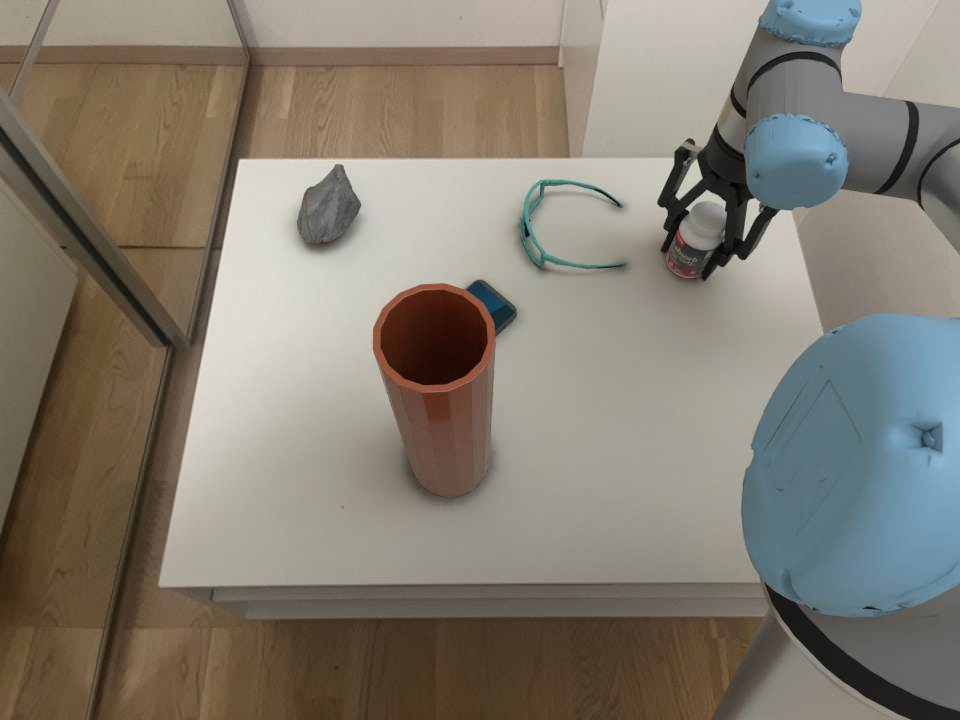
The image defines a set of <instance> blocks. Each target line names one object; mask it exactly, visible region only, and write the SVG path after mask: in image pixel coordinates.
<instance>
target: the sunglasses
mask: <svg viewBox="0 0 960 720" xmlns="http://www.w3.org/2000/svg"><path fill="white" fill-rule="evenodd" d="M564 185H567V186H568V185H571V186H576V187H579V188H583V189H587V190H592V191H594V192H596V193H599V194H601V195H603V196H604V197H606V198H608V199H609V200H610V201H612V202H613V203H614V204H615V205H617V206H618V207H619V208H620V207H624V204H623V203H621V201H619V200H618V199H617V198H615V197H614V196H613V195H612V194H610V193H609V192H607V191H606V190H605V189H604V190H603V189H602V188H600V187H597V186H596V185H592V184H589V183H584V182H580V181H573V180H567V179H540V180H539V181H537V182H536V183H535V184H533V185H532V186H531V187H530V189H529V190H528V192H527V194H526V197H525V199H524V203H523V215H522V217H520V218H519V232H520V235H521V240H522V243H523V246H524V248H525V250H526V252H527V254H528V256H529V257H530V258H531V259H532V261H533V262H534V263H535V264H536V265H537V266H539V267H541V268H542V267H544V266H545V262H548V263H551V264H554V265H556V266H566V267H573V268H578V269H584V270H601V269H612V268H613V269H614V268H619V267H625V265H627V264H628V262H620V263H611V264H583V263H581V264H580V263H574V262H571V261H568V260H564V259H560V258H558V257H556V256H553V255H550V254H548V253H546V250H544V248H542V246H541V245H540V243H539V242H538V241H537V239H536V235H535V233H534V231H533V229H532V225H531V219H530V216H531V214H532V213H533V211H534V209H536V207H537V206H538V204H539V203H540V202H541V201H542V200H543V199H544V195H545V188H546V187H557V186H564ZM538 187H539V192H538V193H539V194H538V197H537V198H536V200H535V201H534V202H533V203H532V204H531V206H530V199H531V196H532V195H533V192H534V191H535V190H536V189H537V188H538ZM529 206H530V207H529ZM529 237H530V240H531V242H532V244H534V246H535V247H536V249H537V250H538V251H539V254H540V256H539V260H538V259H537V258H536V257H535V255H533V253H532V251H531V250H530V247H529V245H528V241H527V238H529Z"/></svg>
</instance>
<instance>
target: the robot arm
mask: <svg viewBox="0 0 960 720" xmlns="http://www.w3.org/2000/svg"><path fill="white" fill-rule="evenodd" d="M862 13H863V6H862V1H861V0H769V1H768V3H767V4H766V7H765V8H764V10H763V12H762V14H761V15H759V17H758V19H757V22H758V24H757V27H756V29H755V31H754V34H753V36H752V38H751V40H750V43H749V45H748V48H747V50H746V52H745V55H744V57H743V60H742V61H741V64H740V67H739V70H738V72H737V73H736V76H735V79H734V82H733V84H732V85H731V88H730V90H729V93H728V94H727V96H726V99H725V101H724V103H723V106H722V108H721V110H720V113H719V115H718V117H717V120H716V122H715V124H714V126H713V129H712V131H711V134H710V136H709V139H708V141H707V143H706V145H704V147H701V146H698V145H696V141H695V140H694V138H692V137H688V138H687V139H685V141H683V142H682V143H681V144H680V145H679V146H678V147H677V148H676V149H675V150H674V152H673V153H674V154H673V155H674V156H673V161H674V162H673V166H672V168H671V171H670V173H669V175H668V177H667V180H666V181H665V183H664V186H663V188H662V190H661V192H660V194H659V197H658V198H657V201H656V204H657V206H658V207H659V208H662V209H665V210H666V211H667V216H666V218H665V220H664V222H663V225H662V227H663V230H664V231H666V232H667V234H666V237H665V238H664V241H663V244H662V246H661V248H660V250H659V251H660V252H661V253H662V254H663V255H666V254H667V251H668V249H669V247H670V245H671V243H672V240H673V238H674V236H675V234H676V232H677V230H678V227H679V225H680V223H681V221H682V220H683V219H684V217H685V216H687V215H688V214H689V213H690V212H691V210H688V209H687V208H688V207H689V206H690V205H691V204H693V202H695V201H696V200H697V199H698V198H699V197H700V196H702V195H703V194H704V193H705V192H706V191H708V192H709V193H712V194H713V195H716V196H718V197H719V198H720V199H721V200H722V201H724V202H725V206H724V209H725V212H727V216H726V225H725V235H724V240H723V242H722V243H721V244H720V245H719V247H718V248H717V249H716V250H715V252H714V254H713V256H712V257H711V259H710V261H709V263H708V265H707V266H706V268H705V270H704V272H703V274H702V275H700V277H699V279H700V280H702V281H704V282H706V280H707V279H708V278H709V277H710V276H711V275H712V274H713V272H715V271H716V269H717V268H718V267H719V268H721V269H723V268H725V267H726V266H727V265H728V264H729V263H730V262H731V260H732V258H733V257H734V255H735V256H737V258H738V259H739V260H741V261H746V260H747V259H748V258H749V257H750V255H751V254H752V253H753V252H754V251H755V250H756V249H757V247H758V246H759V244H760V242H761V240H762V238H763V236H764V235H765V233H766V231H767V230H768V227H769V225H770V223H771V222H772V220H773V218H774V217H776V216H777V215H778V213H779V212H780V211H794V209H795V208H805V209H810V208H814V207H817V206H820V205H821V204H823V203H825V202H827V201H829V200H830V199H832V198H833V197H834V196H835V195H837V193H838V192H839V191H840V190H843V191H850V192H857V193H864V194H870V195H877V196H884V197H889V198H897V199H903V200H909V201H912V202H915V203H916V204H917V205H918V206H919V208H920V209H921V210H922V212H924V213H925V214H926V216H927V217H928V218H929V220H930V221H931V222H932V223H933V225H934V226H935V227H936V228H937V229H938V230H939V232H940V233H941V234H942V235H943V237H944V238H945V239H946V241H947V242H948V244H949V245H950V246H952V248H953V249H954V250H955V251H956V253H957V254H958V255H959V256H960V107H955V106H950V105H949V106H948V105H943V104H942V105H941V104H933V103H926V102H919V101H912V100H911V101H910V100H906V99H905V100H904V99H899V98H898V99H897V98H891V97H885V96H877V95H870V94H863V93H856V92H850V91H844V88H843V74H842V55H843V53H844V50H845V48H846V46H847V45H848V44H850V43H851V41H852V40H853V38H854V33H855V30H856V29H857V26H858V24H859V22H860V20H861V17H862ZM695 161H697V164H698V168H699V171H700V176H701V179H700V180H699V181H697V183H695V185H694V186H692V187H691V189H689V190H688V191H687V192H686V193H684V194H683V196H681V197H680V198H678V197H677V194H678V192H679V190H680V188H681V186H682V184H683V182H684V180H685V178H686V176H687V174H688V172H689V170H690V168H691V166H692V165H693V163H694V162H695ZM750 200H757V201H758V202H759V204H758V207H759V208H758V212H759V213H758V214H757V215H756V217H755V219H754V221H753V222H752V225H751V226H750V228H749V231H748V232H747V234H746V236H745V238H744V233H745V227H746V219H747V212H748V210H747V209H748V205H749V204H748V203H749V201H750ZM752 437H753V438H752V440H751V444H750V449H751V450H752V451H753V456H752V459H751V461H750V463H749V465H748V466H747V467H746V468H745V471H744V476H743V480H742V489H741V502H740V504H741V505H740V516H741V526H742V527H741V529H742V536H743V540H744V545H745V549H746V552H747V555H748V558H749V560H750V563H751V564H752V567H753V568H754V570H755V572H756V573H757V574H758V576H759V582H760V585H761V588H762V592H763V596H764V597H765V599H766V602H767V605H768V609H767V611H766V612H765V614H764V616H763V618H762V620H761V621H760V624H759V625H758V628H757V629H756V632H755V634H754V635H753V637H752V639H751V640H750V643H749V644H748V647H747V648H746V650H745V653H744V654H743V656H742V657H741V659H740V662H739V664H738V666H737V668H736V670H735V672H734V674H733V675H732V677H731V679H730V681H729V682H728V685H727V687H726V689H725V691H724V693H723V695H722V696H721V699H720V700H719V702H718V703H717V706H716V708H715V710H714V711H713V714H712V716H711V718H710V719H709V720H960V316H959V317H958V316H957V317H950V318H946V317H938V316H937V317H936V316H929V315H920V314H919V315H918V314H911V313H903V312H902V313H899V312H898V313H897V312H884V313H883V312H882V313H873V314H868V315H864V316H861V317H858V318H856V319H855V318H854V319H853V320H851V321H850V322H849V323H846V324H842V325H839V326H837V327H833V328H832V329H830V330H828V331H827V332H825V333H824V334H822V336H820V337H819V338H818V339H817V340H815V341H814V342H813V343H812V344H810V345H809V346H808V347H807V348H805V350H804V351H802V353H801V354H800V355H798V357H797V358H796V359H795V360H794V361H793V362H792V364H791V365H790V366H789V368H788V369H787V370H786V372H785V373H784V375H783V376H782V378H781V379H780V381H779V382H778V384H777V385H776V387H775V389H774V391H773V392H772V394H771V395H770V397H769V399H768V401H767V403H766V406H765V407H764V409H763V412H762V414H761V417H760V419H759V421H758V423H757V426H756V429H755V432H754V434H753V436H752Z"/></svg>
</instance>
